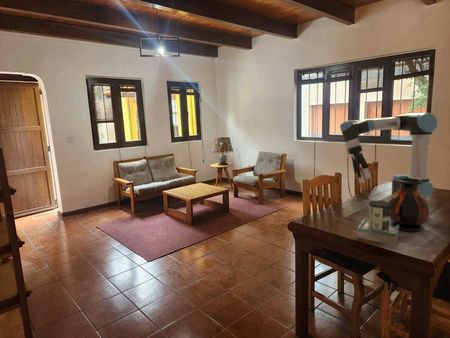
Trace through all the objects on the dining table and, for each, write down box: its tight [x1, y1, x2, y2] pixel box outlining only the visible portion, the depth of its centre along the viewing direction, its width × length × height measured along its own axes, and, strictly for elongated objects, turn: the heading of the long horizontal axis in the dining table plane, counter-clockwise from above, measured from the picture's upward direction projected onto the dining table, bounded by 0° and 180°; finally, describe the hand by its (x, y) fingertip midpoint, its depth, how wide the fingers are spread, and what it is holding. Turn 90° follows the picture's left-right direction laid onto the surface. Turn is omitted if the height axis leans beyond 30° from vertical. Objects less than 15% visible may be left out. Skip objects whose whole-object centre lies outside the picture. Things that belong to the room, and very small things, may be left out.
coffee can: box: [367, 200, 391, 232], centre depth 160 cm, size 10×10×14 cm
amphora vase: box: [387, 178, 431, 233], centre depth 169 cm, size 22×22×28 cm
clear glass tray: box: [356, 219, 400, 245], centre depth 161 cm, size 16×18×6 cm
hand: (365, 180), depth 177 cm, fingers open, 13 cm apart
